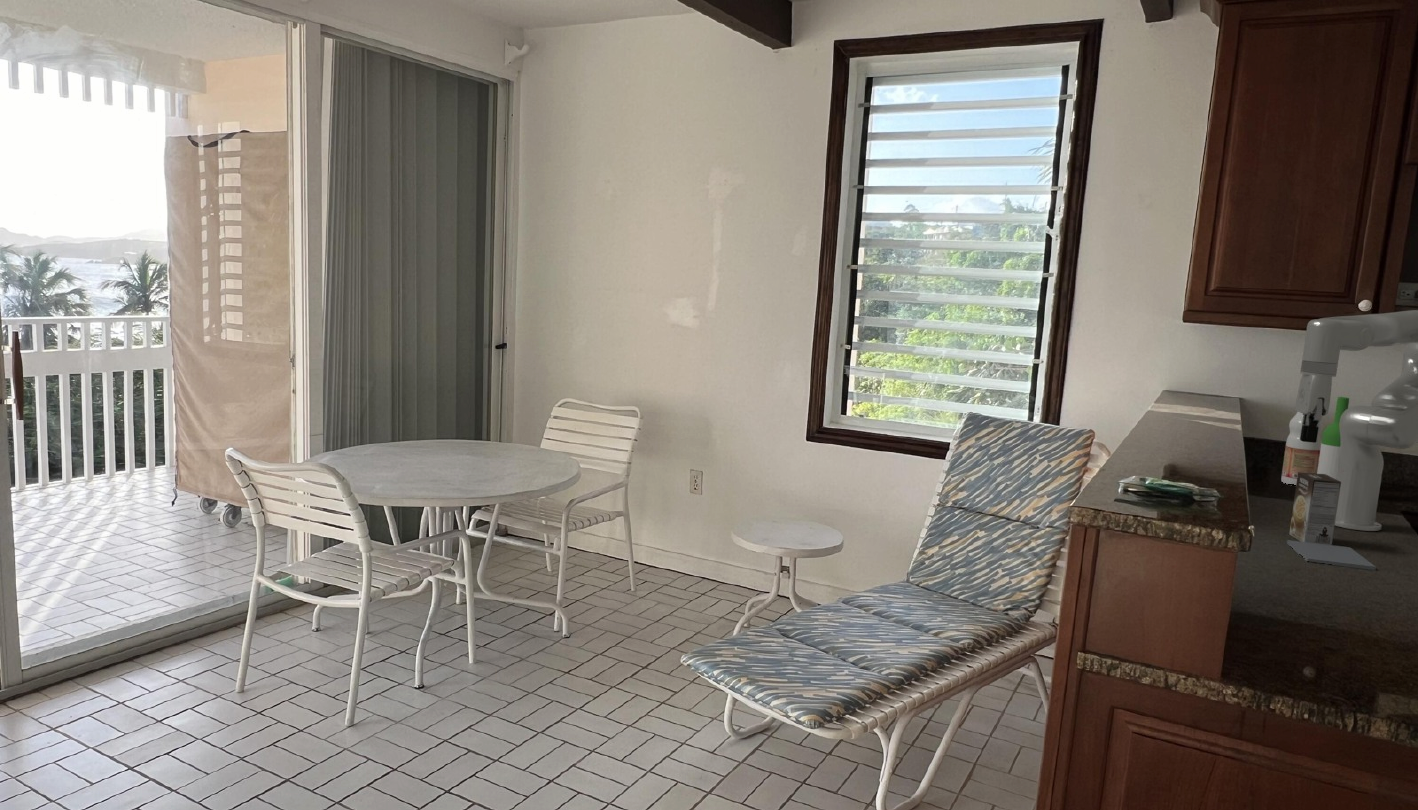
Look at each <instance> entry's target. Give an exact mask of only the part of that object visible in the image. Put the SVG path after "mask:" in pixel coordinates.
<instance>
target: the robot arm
mask: <svg viewBox="0 0 1418 810" xmlns="http://www.w3.org/2000/svg"><path fill="white" fill-rule="evenodd" d="M1398 345H1406V346H1405V347H1404V350H1403V353H1402V363H1401V374H1400V375H1399V376H1398V377H1397V378H1396V379H1394V380H1393V381H1392V382H1390V384H1388V385H1387V386H1385V387H1384V388H1382V390H1380V391H1379V392H1378V393H1376V394H1375V396H1374V397H1373V399H1372V400H1371V404H1370V405H1355V406H1350V407H1348V409H1347V410H1345V411H1344V412H1343V414H1342V415H1341V418H1340V423H1339V427H1340V440H1341V445H1340V456H1339V463H1338V470H1337V477H1336V480H1338V481H1340V482H1341V487H1340V494H1339V500H1338V507H1337V513H1336V520H1335V526H1334V527H1338V528H1339V527H1340V528H1342V529H1343V528H1344V529H1349V530H1355V531H1356V530H1357V531H1363V532H1364V531H1366V532H1377V531H1381V530H1382V526H1383V525H1382V524H1381V523H1379V522H1377V521H1376V517H1377V516H1376V515H1377V508H1378V502H1379V494H1380V489H1381V483H1382V476H1383V471H1384V456H1383V453H1382V451H1381V450H1380V448H1379V446H1380V447H1385V448H1391V449H1399V450H1406V449H1410V448H1412V447H1413V446H1415V445H1417V444H1418V309H1415V310H1414V309H1411V310H1403V311H1401V310H1400V311H1394V312H1385V313H1369V314H1359V315H1344V316H1343V315H1342V316H1332V317H1322V318H1318V319H1317V318H1316V319H1311V320H1310V321H1308V323H1307V326H1306V331H1305V339H1304V345H1303V351H1302V353H1303V354H1302V359H1301V366H1300V375H1301V378H1300V382H1299V386H1298V391H1297V396H1296V401H1295V407H1294V408H1295V411H1297V412H1300V413H1303V421H1302V429H1301V436H1300V440H1301V441H1303V442H1313V443H1316V441H1317V435H1318V428H1319V424H1320V421H1322V419H1323V418H1322V417H1323V416H1327V415H1328V413H1329V409H1330V404H1331V398H1332V397H1331V395H1332V386H1333V384H1332V383H1333V377H1334V378H1336V377H1337V374H1338V373H1337V371H1338V366H1339V359H1340V358H1339V357H1340V352H1341V351H1351V352H1355V351H1356V352H1357V351H1362V350H1365V349H1367V348H1369V347H1378V348H1379V347H1392V346H1398Z"/></svg>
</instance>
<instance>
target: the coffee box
mask: <svg viewBox="0 0 1418 810" xmlns="http://www.w3.org/2000/svg"><path fill="white" fill-rule="evenodd" d="M1340 487H1341V482H1340V481H1338V480H1336V479H1334V478H1332V477H1330V476H1328V475H1326V474H1315V473H1301V472H1298V476H1297V484H1296V486H1295V492H1294V499H1293V505H1292V506H1293V507H1292V514H1291V521H1290V528H1289V535H1290V536H1291V537H1292V538H1294V539H1296V541H1299V542H1307V543H1316V544H1325V545H1333V537H1334V532H1335V527H1336V526H1335V520H1336V513H1337V507H1338V500H1339V494H1340Z"/></svg>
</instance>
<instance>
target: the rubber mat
mask: <svg viewBox="0 0 1418 810" xmlns="http://www.w3.org/2000/svg"><path fill="white" fill-rule="evenodd" d="M1286 545H1288V546H1289V547H1290V546H1291V547H1292V548H1293V549H1292V548H1291V547H1290V548H1291V549H1292V550H1293V551H1295V552H1296V553H1297V554H1298V555H1299V554H1301V555H1302V556H1303V558H1305V559H1304V561H1305V562H1307V561H1315V562H1320V563H1325V564H1324V565H1328V564H1332V565H1331V566H1338V567H1345V568H1353V569H1361V570H1362V569H1363V570H1369V571H1376V568H1377V566H1375V565H1374V564H1373V563H1371V562H1370V561H1369V560H1368V559H1366V558H1365V557H1363V556H1362V555H1361V554H1359V553H1358V552H1357V551H1355V549H1353V548H1352V547H1348V546H1342V545H1341V546H1340V545H1334V544H1332V545H1325V544H1316V543H1307V542H1300V541H1299V540H1289V539H1287V541H1286ZM1303 558H1302V559H1303Z"/></svg>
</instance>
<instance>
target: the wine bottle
mask: <svg viewBox="0 0 1418 810" xmlns="http://www.w3.org/2000/svg"><path fill="white" fill-rule="evenodd" d="M1336 400H1337V401H1336V405H1335V406H1336V407H1335V413H1334V419H1333V423H1331V424H1329V425H1327V426H1326V427H1325V429H1323V430H1324V431H1322V438H1321V450H1320V457H1319V463H1318V470H1317V474H1326V475H1328V476H1330V477H1332V478H1334V479H1336V477H1337V470H1338V463H1339V456H1340V445H1341V440H1340V427H1339V423H1340V418H1341V415H1342V414H1343V412H1344V411H1345V410H1347V409H1348V408H1349V403H1350V397H1345V396H1338V397H1337V399H1336Z"/></svg>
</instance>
